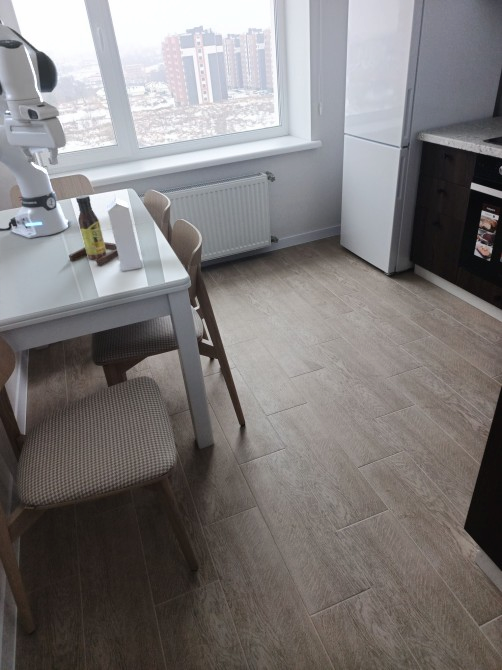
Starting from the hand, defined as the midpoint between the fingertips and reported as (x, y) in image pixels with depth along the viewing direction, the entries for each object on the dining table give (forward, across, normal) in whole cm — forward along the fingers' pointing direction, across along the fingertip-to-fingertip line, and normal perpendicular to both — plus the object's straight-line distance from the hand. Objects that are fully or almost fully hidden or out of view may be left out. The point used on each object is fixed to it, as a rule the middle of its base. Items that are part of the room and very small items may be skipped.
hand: (42, 163), depth 136 cm
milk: (+32, +20, +6) cm, 38 cm away
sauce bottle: (+32, +3, +8) cm, 33 cm away
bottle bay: (+32, +3, +8) cm, 33 cm away
